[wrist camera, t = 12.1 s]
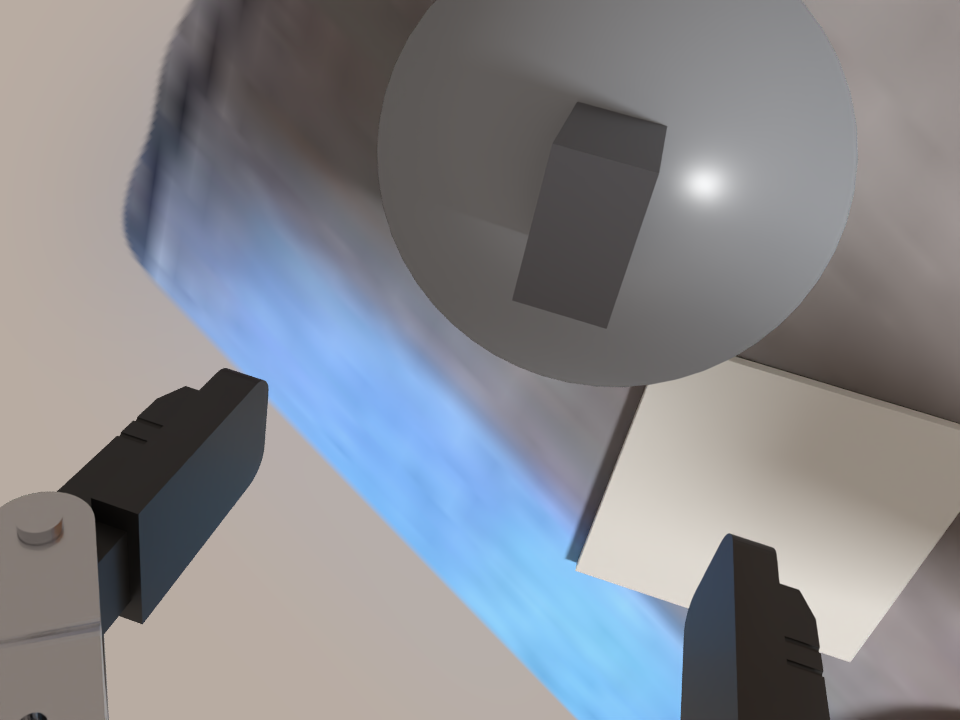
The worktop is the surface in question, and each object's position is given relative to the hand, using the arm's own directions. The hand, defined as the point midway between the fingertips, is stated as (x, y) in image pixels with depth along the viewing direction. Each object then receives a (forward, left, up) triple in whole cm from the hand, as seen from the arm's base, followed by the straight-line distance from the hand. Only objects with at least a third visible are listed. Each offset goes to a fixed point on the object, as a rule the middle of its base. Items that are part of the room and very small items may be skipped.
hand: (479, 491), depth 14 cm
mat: (-13, +17, -25) cm, 33 cm away
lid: (0, 0, -18) cm, 18 cm away
